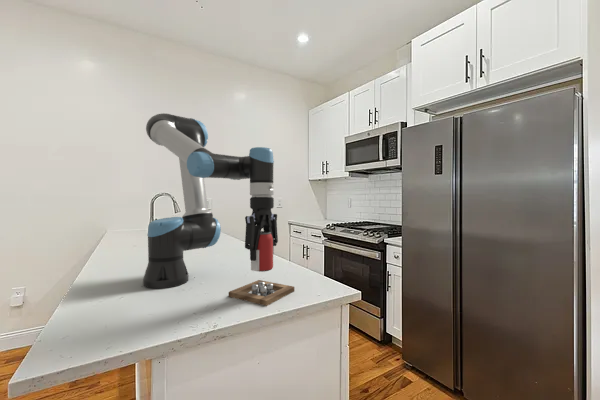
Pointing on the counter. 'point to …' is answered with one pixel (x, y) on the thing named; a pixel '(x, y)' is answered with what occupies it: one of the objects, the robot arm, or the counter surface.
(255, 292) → the peg stand
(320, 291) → the counter surface
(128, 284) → the counter surface
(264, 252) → the beer can
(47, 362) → the counter surface
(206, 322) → the counter surface
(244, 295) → the face frame
